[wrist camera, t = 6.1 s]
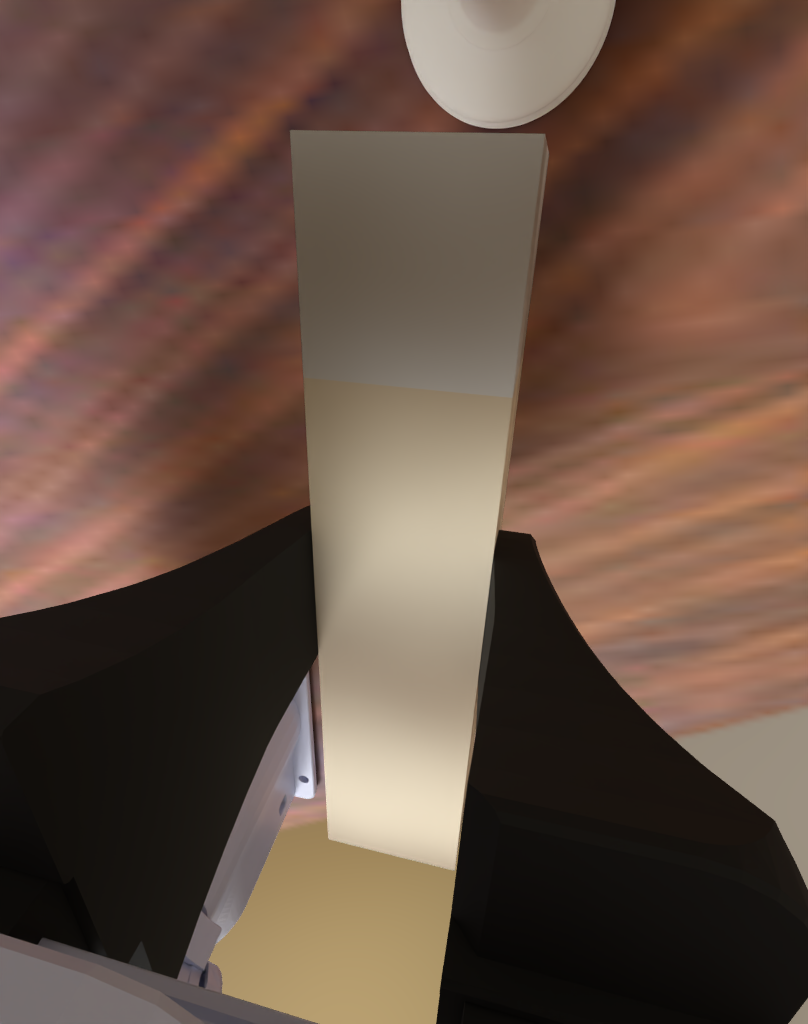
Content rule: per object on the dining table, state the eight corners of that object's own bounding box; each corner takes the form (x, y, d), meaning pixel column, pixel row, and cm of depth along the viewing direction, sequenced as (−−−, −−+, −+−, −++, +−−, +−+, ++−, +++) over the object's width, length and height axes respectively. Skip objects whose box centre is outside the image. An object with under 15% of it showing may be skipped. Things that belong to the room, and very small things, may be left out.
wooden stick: (473, 745, 16) (454, 870, 13) (369, 724, 17) (328, 839, 14) (549, 153, 9) (545, 134, 6) (370, 150, 10) (290, 129, 7)
